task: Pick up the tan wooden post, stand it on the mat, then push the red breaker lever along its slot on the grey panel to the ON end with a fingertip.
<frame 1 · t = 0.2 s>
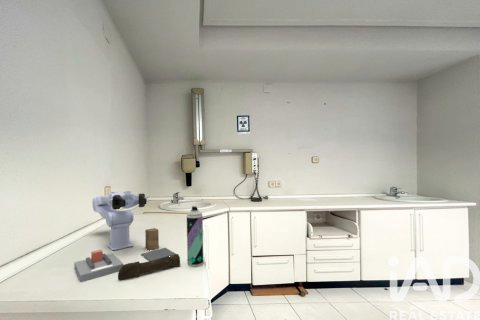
hand: (135, 202, 89), 21 cm above the worktop, tool horizontal, fingers open, 7 cm apart
hand tool: (151, 274, 76), on the worktop
tan wooden post: (152, 248, 99), on the worktop
breaker lever: (97, 256, 81), point 4 cm above the worktop, slide at 0.0 cm
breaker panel: (98, 269, 79), on the worktop
spray can: (195, 264, 82), on the worktop
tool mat: (158, 254, 91), on the worktop
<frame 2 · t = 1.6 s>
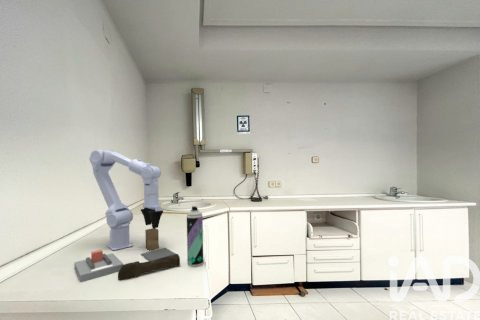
hand: (151, 226, 99), 9 cm above the worktop, tool pointing down, fingers open, 7 cm apart
nothing on the worktop moved.
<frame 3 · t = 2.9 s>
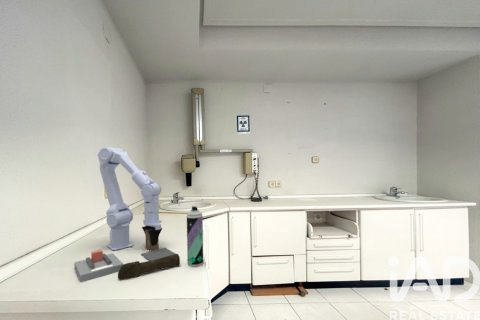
hand: (152, 243, 99), 2 cm above the worktop, tool pointing down, fingers closed on tan wooden post, 4 cm apart
tan wooden post: (152, 248, 99), on the worktop, touching gripper
everything else where it was.
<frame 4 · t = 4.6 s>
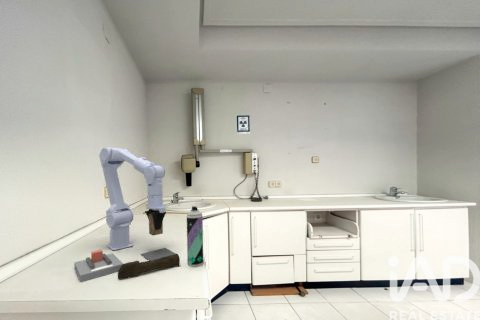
hand: (155, 228, 94), 10 cm above the worktop, tool pointing down, fingers closed on tan wooden post, 4 cm apart
tan wooden post: (156, 233, 94), point 7 cm above the worktop, touching gripper
everything else where it was.
when the fingers open (3 cm above the worktop, at t = 6.4 s): tan wooden post stays where it is, resting on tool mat.
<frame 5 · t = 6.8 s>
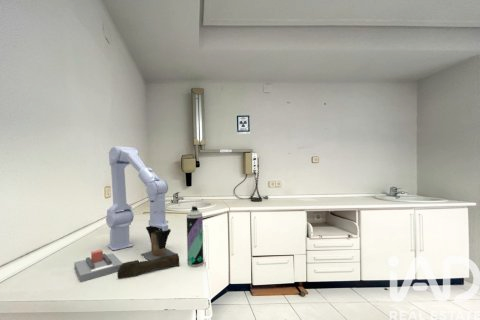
hand: (158, 246, 91), 3 cm above the worktop, tool pointing down, fingers open, 7 cm apart
tan wooden post: (158, 253, 91), resting on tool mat
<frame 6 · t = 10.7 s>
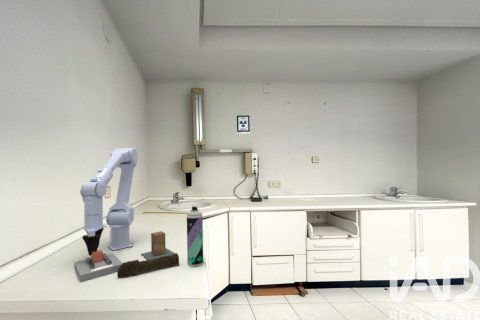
hand: (93, 251, 85), 4 cm above the worktop, tool pointing down, fingers open, 7 cm apart
breaker lever: (97, 256, 81), point 4 cm above the worktop, slide at 0.5 cm, touching gripper
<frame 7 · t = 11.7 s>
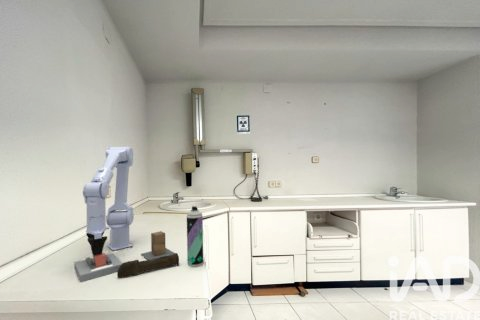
hand: (96, 254, 82), 4 cm above the worktop, tool pointing down, fingers open, 7 cm apart
breaker lever: (100, 260, 78), point 4 cm above the worktop, slide at 5.0 cm, touching gripper
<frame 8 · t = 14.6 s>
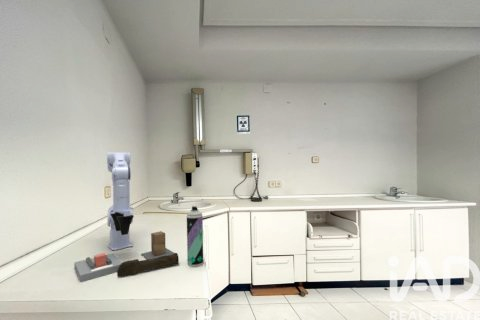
hand: (121, 232, 90), 9 cm above the worktop, tool pointing down, fingers open, 7 cm apart
breaker lever: (100, 260, 78), point 4 cm above the worktop, slide at 5.1 cm
at the end: tan wooden post inside the target area on the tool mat (0.1 cm from its centre), point 0.4 cm above the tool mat's base; tan wooden post tilted 0°; breaker lever slide at 5.1 cm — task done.
